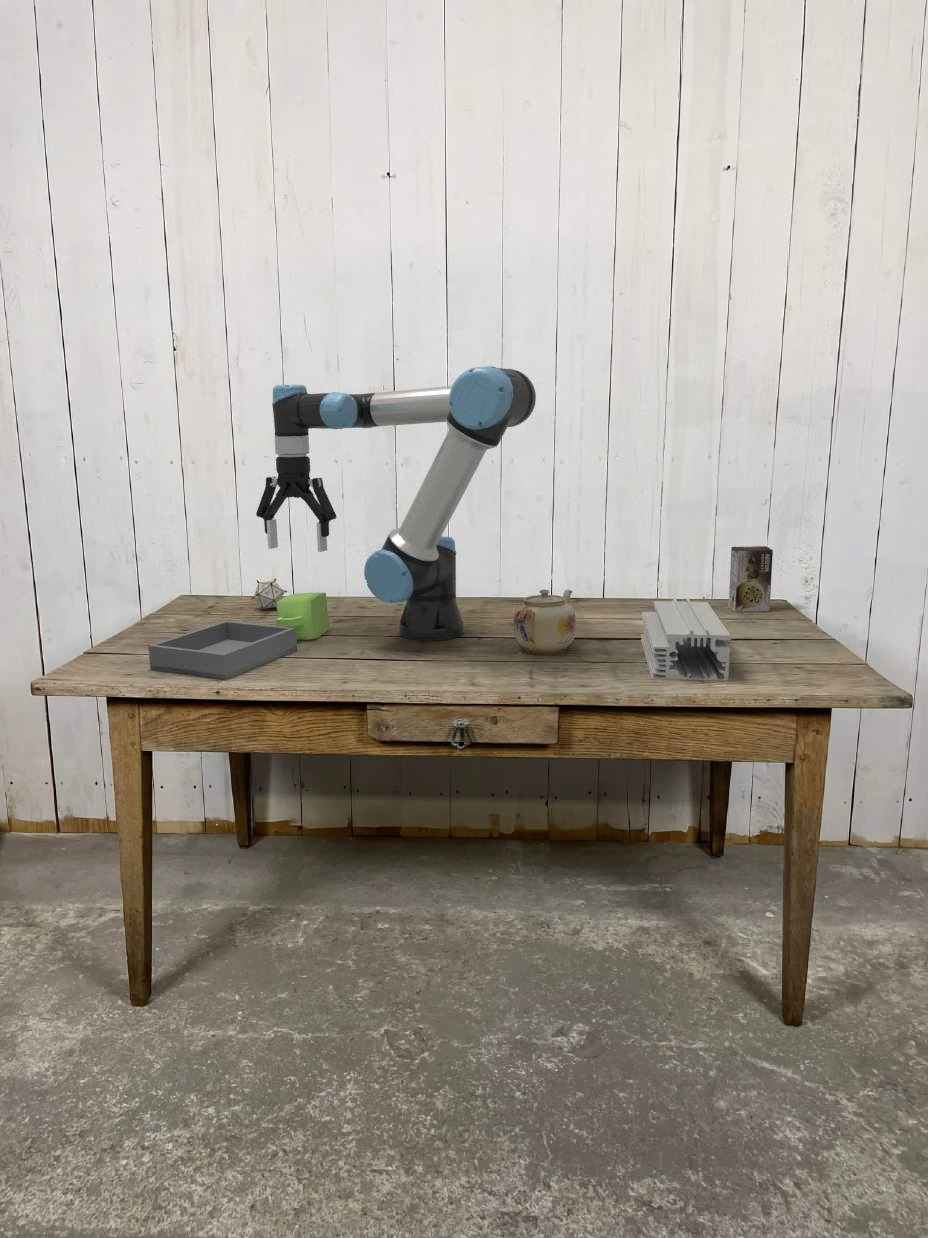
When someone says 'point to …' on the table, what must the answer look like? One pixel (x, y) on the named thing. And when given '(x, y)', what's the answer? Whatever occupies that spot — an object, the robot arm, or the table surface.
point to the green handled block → (304, 614)
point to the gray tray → (222, 649)
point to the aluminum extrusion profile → (685, 642)
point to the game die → (268, 594)
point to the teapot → (545, 623)
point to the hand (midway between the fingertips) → (297, 549)
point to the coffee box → (750, 578)
